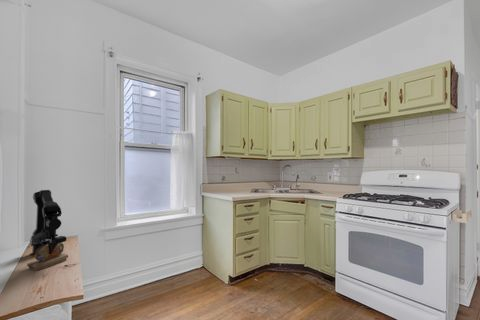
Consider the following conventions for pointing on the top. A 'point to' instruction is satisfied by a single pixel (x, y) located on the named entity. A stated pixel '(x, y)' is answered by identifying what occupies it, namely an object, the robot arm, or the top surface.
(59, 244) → the tin
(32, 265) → the stand
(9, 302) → the top surface
